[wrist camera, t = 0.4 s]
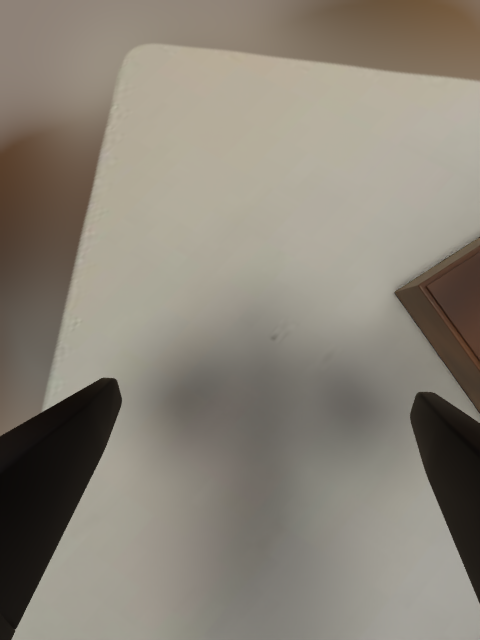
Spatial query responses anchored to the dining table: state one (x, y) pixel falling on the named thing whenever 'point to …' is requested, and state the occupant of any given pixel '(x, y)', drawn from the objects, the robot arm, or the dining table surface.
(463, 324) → the walnut block
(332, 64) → the dining table surface
